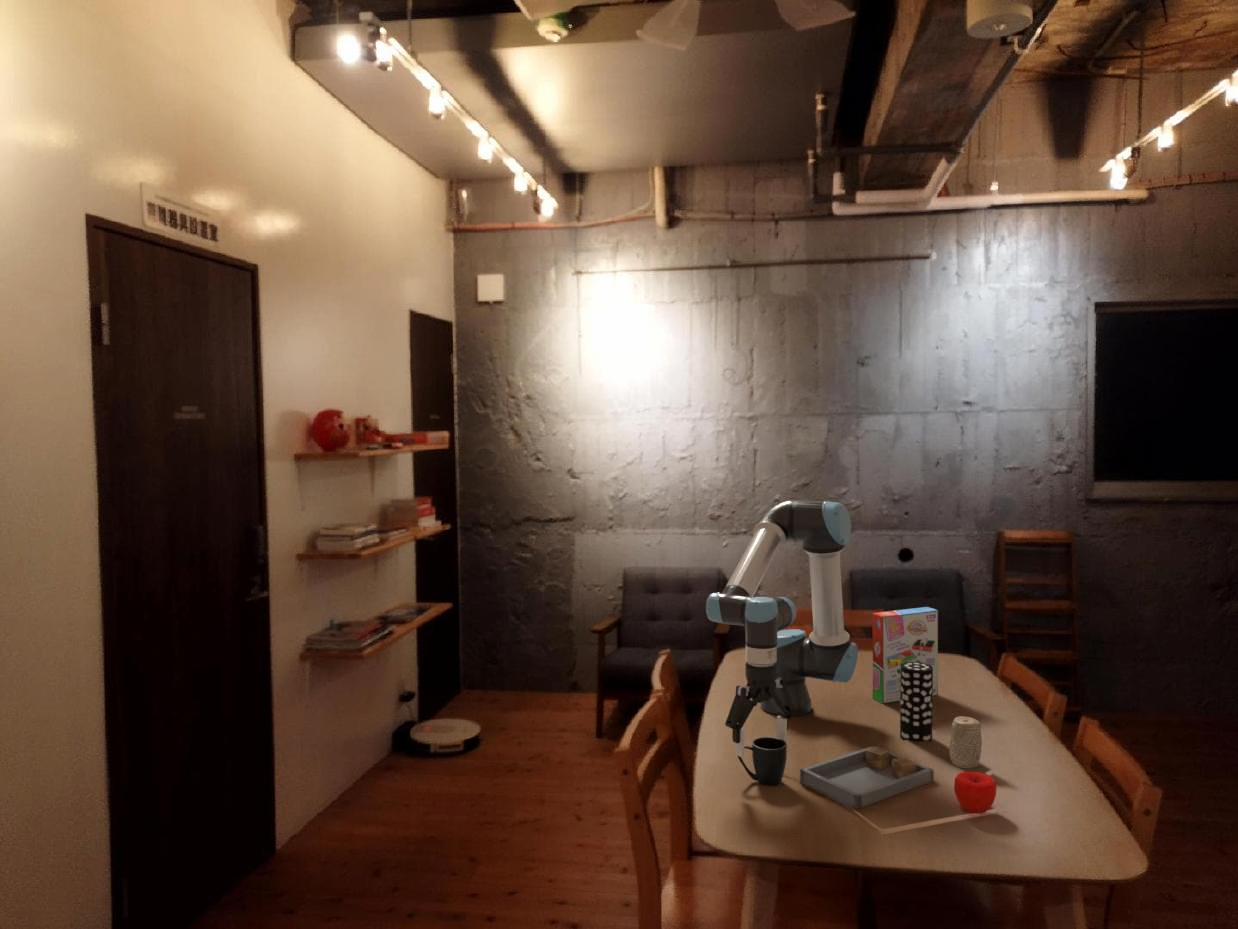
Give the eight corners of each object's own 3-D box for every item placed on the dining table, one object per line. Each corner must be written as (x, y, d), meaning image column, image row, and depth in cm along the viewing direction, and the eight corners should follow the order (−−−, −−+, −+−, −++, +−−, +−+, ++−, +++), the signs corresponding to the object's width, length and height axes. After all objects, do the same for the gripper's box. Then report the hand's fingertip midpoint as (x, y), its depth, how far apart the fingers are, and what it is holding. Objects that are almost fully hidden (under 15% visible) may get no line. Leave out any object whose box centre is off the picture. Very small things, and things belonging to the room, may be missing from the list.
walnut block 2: (891, 775, 209) (891, 759, 209) (905, 773, 211) (905, 757, 210) (901, 782, 206) (901, 766, 205) (916, 780, 207) (916, 763, 207)
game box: (927, 690, 274) (928, 606, 272) (938, 696, 269) (939, 610, 267) (871, 698, 268) (871, 612, 266) (882, 704, 262) (882, 615, 261)
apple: (974, 823, 187) (975, 788, 186) (944, 806, 195) (944, 772, 194) (1005, 815, 190) (1005, 780, 190) (974, 799, 198) (974, 765, 198)
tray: (800, 783, 208) (800, 769, 207) (874, 758, 222) (874, 745, 221) (857, 812, 192) (857, 796, 192) (933, 783, 206) (933, 769, 206)
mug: (735, 774, 213) (734, 736, 213) (783, 774, 213) (783, 736, 212) (738, 788, 205) (738, 749, 204) (789, 789, 205) (789, 749, 204)
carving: (982, 773, 212) (982, 725, 211) (949, 769, 214) (949, 722, 214) (981, 763, 218) (981, 717, 217) (949, 759, 220) (949, 713, 220)
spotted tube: (931, 734, 237) (932, 663, 236) (932, 746, 229) (933, 672, 228) (900, 731, 240) (900, 660, 239) (899, 742, 232) (900, 669, 231)
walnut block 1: (866, 766, 215) (866, 750, 215) (874, 761, 218) (874, 746, 217) (880, 771, 212) (880, 755, 212) (889, 766, 215) (889, 750, 214)
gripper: (731, 674, 197) (730, 765, 198) (810, 658, 211) (809, 743, 212) (710, 667, 204) (710, 755, 205) (788, 651, 217) (788, 734, 218)
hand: (760, 749), depth 208 cm, fingers open, 13 cm apart
